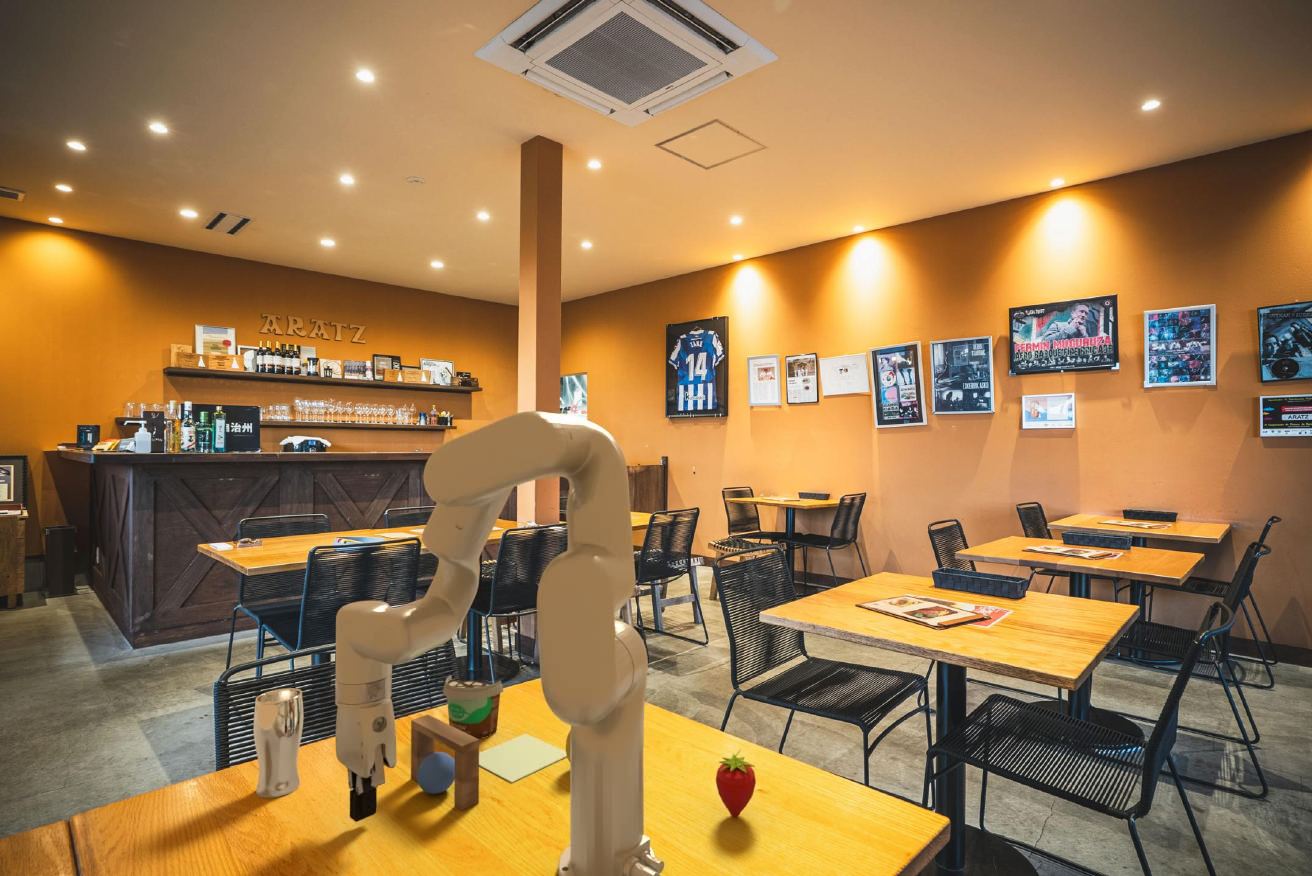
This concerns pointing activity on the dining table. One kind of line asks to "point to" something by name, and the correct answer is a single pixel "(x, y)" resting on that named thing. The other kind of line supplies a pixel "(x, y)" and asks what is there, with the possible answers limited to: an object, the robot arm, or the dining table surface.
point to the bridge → (465, 756)
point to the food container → (473, 706)
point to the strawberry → (735, 783)
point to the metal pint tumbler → (278, 741)
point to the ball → (436, 773)
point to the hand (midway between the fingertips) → (363, 815)
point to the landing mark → (519, 757)
